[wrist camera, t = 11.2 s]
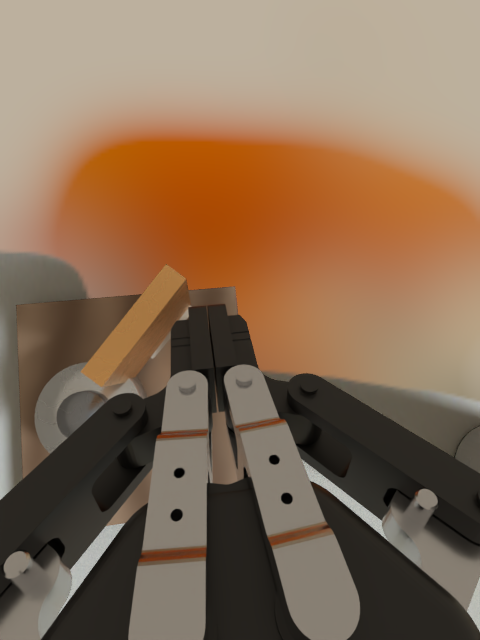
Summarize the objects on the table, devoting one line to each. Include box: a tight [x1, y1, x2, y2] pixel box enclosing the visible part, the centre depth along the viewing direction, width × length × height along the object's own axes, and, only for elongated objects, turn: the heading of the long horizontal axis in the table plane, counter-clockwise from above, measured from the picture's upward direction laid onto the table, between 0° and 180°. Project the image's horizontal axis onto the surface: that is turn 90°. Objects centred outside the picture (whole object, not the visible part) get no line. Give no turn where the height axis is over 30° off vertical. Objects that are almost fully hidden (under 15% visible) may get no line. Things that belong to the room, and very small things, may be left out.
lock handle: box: [35, 264, 191, 454], centre depth 28 cm, size 16×8×11 cm, turn 144°
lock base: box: [16, 287, 238, 526], centre depth 34 cm, size 20×20×2 cm
